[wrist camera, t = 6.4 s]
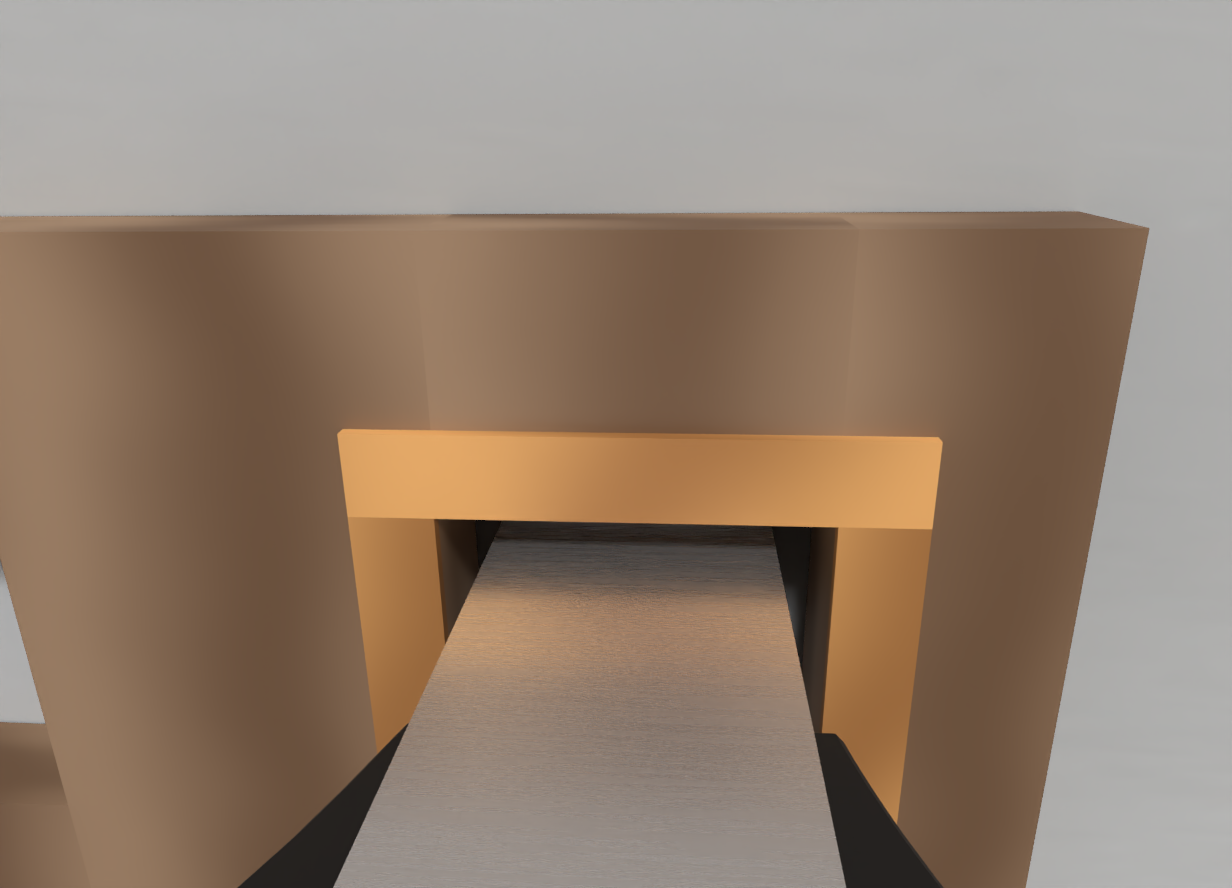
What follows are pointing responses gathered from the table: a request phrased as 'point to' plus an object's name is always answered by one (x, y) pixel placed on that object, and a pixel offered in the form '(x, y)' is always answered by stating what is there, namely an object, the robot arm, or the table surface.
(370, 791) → the robot arm
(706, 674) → the steel peg
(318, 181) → the table surface
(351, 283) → the wooden peg hole board
